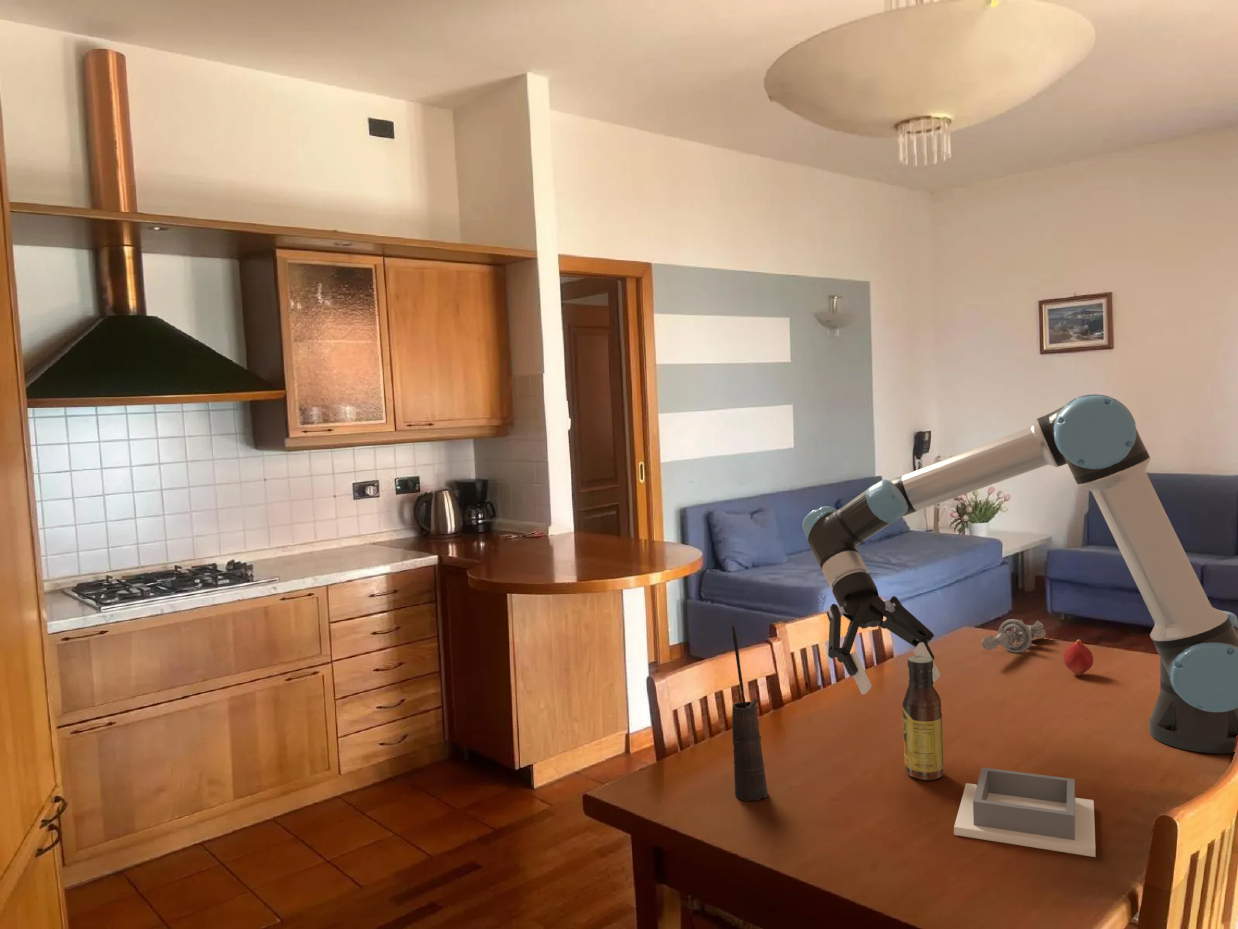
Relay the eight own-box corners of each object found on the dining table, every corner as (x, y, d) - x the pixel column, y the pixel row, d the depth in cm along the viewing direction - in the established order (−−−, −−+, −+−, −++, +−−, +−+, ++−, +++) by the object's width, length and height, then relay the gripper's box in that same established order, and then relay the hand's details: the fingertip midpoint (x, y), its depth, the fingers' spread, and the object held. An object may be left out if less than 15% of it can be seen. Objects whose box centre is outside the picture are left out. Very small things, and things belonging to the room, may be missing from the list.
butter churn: (765, 776, 156) (758, 613, 154) (795, 798, 147) (789, 624, 145) (716, 787, 152) (709, 620, 150) (744, 809, 143) (737, 632, 142)
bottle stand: (1093, 808, 138) (1093, 777, 138) (1095, 857, 124) (1095, 823, 124) (966, 790, 146) (965, 761, 146) (954, 835, 132) (953, 803, 132)
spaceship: (961, 631, 211) (993, 622, 206) (1021, 617, 236) (1051, 609, 231) (973, 666, 209) (1006, 657, 204) (1032, 647, 234) (1063, 640, 229)
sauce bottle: (913, 764, 158) (910, 650, 156) (949, 772, 154) (947, 655, 152) (898, 777, 152) (894, 659, 151) (935, 786, 149) (932, 665, 147)
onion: (1057, 673, 203) (1057, 638, 202) (1078, 670, 204) (1078, 634, 204) (1078, 681, 197) (1077, 644, 197) (1099, 677, 199) (1099, 640, 198)
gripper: (899, 586, 176) (953, 685, 163) (783, 600, 168) (829, 706, 155) (916, 563, 170) (973, 663, 157) (796, 577, 163) (845, 684, 149)
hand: (901, 685), depth 156 cm, fingers open, 13 cm apart
